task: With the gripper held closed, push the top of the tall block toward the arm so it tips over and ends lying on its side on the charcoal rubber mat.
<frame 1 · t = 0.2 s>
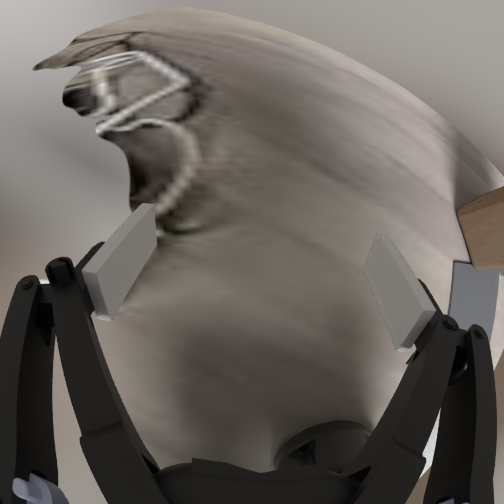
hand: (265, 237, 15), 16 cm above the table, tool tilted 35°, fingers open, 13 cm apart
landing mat: (470, 328, 31), on the table
block: (478, 231, 31), on the table, touching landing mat
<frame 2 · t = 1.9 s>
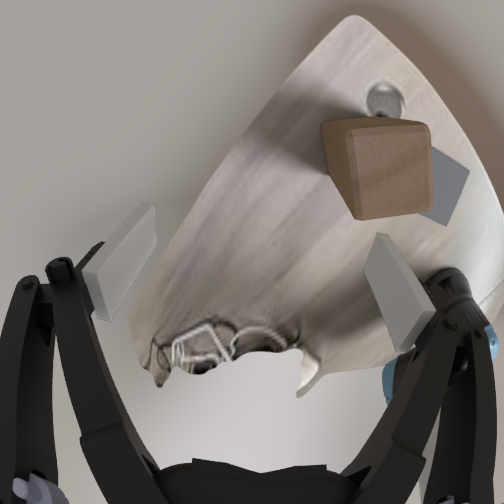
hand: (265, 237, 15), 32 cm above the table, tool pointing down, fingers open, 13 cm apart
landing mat: (423, 179, 41), on the table
block: (352, 146, 41), on the table, touching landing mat
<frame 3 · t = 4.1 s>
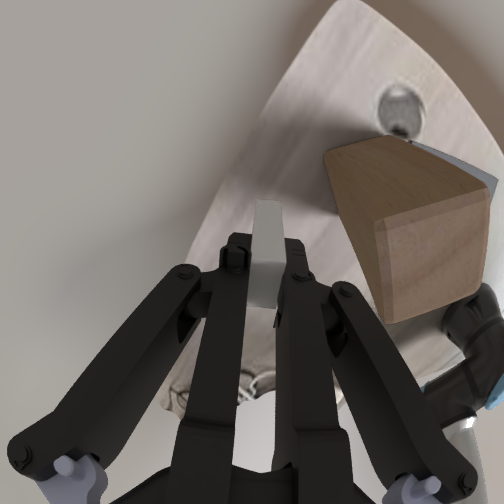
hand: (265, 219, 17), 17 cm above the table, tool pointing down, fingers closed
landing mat: (449, 199, 32), on the table
block: (365, 176, 32), on the table, touching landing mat
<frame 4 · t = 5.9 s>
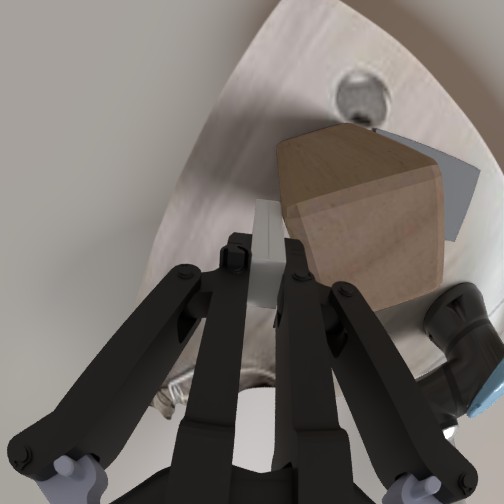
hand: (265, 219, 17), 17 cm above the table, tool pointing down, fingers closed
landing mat: (423, 191, 32), on the table
block: (325, 167, 32), on the table, touching gripper, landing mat
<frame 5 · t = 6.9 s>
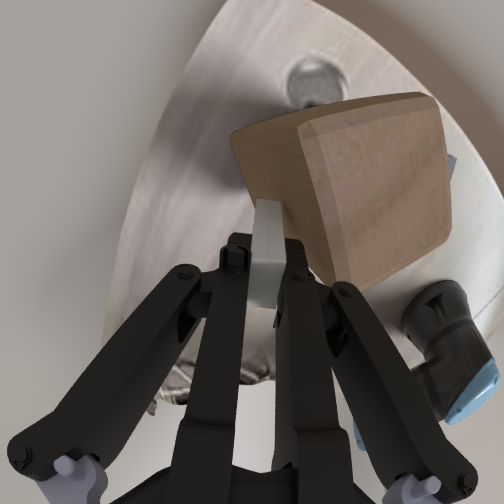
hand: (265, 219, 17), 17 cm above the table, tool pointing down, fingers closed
block: (280, 159, 30), point 2 cm above the table, touching gripper, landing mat
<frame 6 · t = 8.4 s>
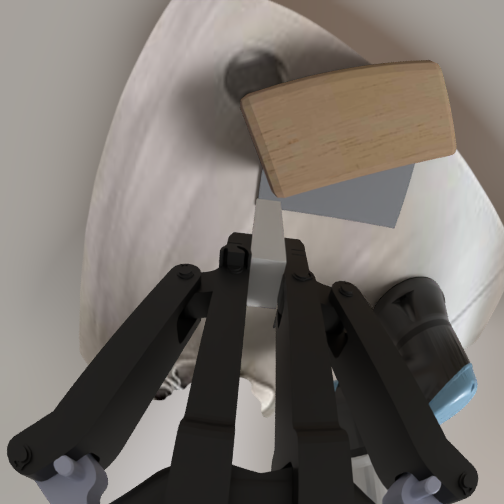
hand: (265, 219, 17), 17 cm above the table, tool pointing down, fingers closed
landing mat: (342, 170, 32), on the table
block: (255, 144, 26), point 5 cm above the table, touching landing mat
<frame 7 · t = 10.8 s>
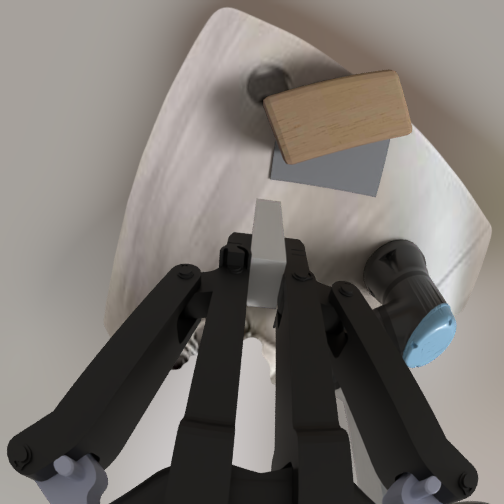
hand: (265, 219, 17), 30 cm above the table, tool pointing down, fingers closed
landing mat: (332, 152, 43), on the table
block: (271, 131, 37), point 6 cm above the table, touching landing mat
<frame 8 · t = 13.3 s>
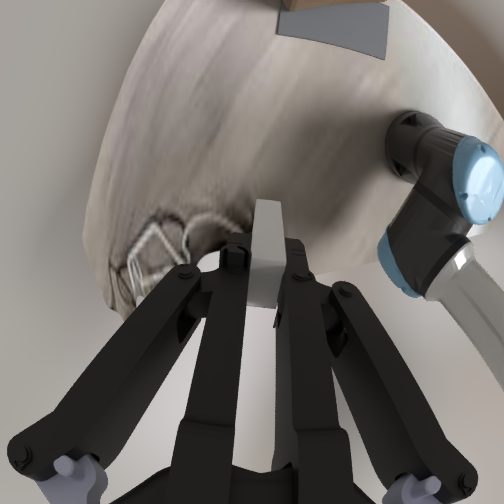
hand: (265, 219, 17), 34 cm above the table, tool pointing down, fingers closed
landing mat: (336, 16, 32), on the table
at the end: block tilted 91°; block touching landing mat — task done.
